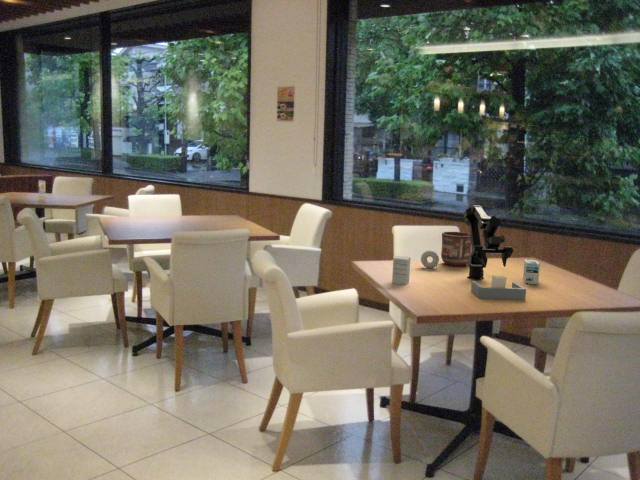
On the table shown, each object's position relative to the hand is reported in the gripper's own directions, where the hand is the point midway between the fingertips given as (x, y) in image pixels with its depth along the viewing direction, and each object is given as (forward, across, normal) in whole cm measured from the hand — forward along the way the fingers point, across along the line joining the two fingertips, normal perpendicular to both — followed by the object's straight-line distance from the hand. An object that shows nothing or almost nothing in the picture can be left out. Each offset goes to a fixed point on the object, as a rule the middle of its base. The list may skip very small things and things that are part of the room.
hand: (495, 266), depth 297 cm
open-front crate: (+13, 0, +4) cm, 14 cm away
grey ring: (-28, -19, +45) cm, 57 cm away
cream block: (+14, 0, +4) cm, 14 cm away
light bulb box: (-8, +27, +26) cm, 38 cm away
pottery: (-37, -1, +54) cm, 65 cm away
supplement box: (-1, -42, +19) cm, 46 cm away
